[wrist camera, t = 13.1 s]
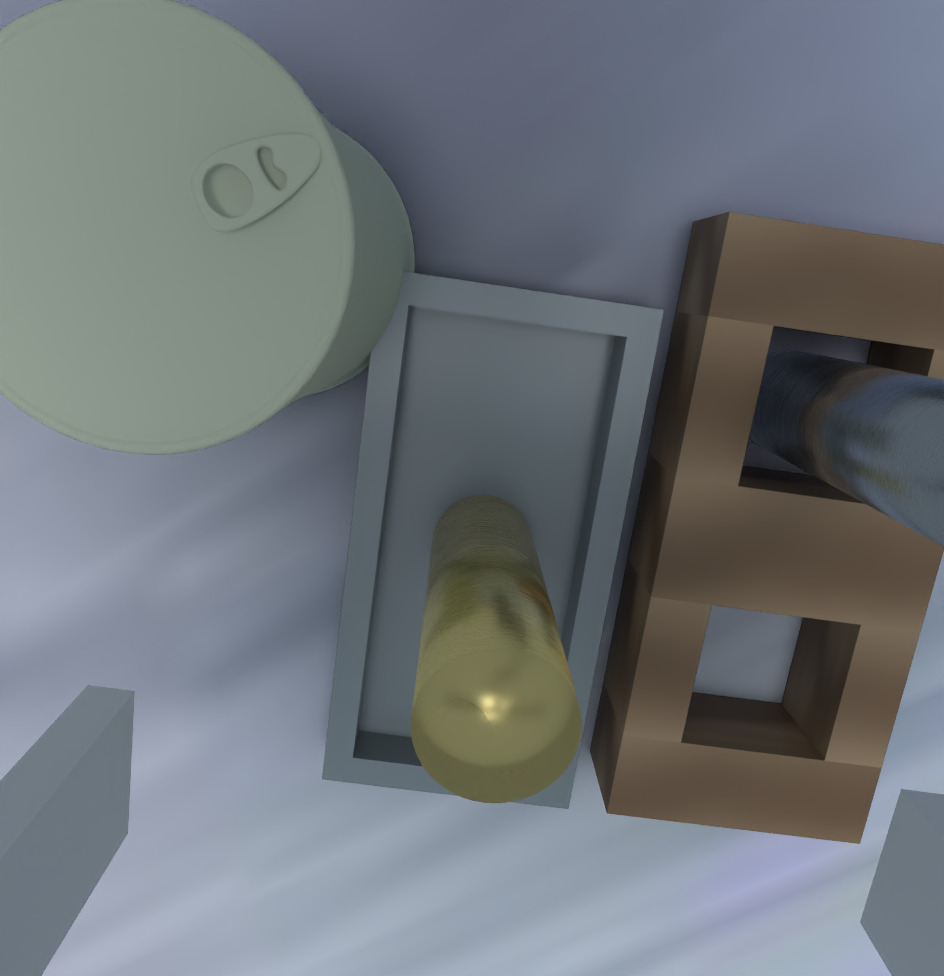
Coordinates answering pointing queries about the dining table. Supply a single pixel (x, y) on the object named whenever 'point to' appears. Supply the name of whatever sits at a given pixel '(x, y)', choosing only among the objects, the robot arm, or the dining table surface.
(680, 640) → the block
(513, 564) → the brass pin
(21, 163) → the can
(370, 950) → the dining table surface
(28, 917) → the robot arm
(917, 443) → the steel pin
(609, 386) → the tray
